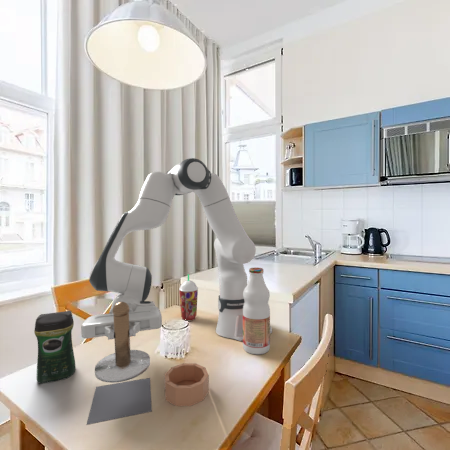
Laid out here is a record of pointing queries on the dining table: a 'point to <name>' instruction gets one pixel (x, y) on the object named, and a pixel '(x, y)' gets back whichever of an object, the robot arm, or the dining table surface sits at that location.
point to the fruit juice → (256, 314)
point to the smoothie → (188, 299)
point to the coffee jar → (54, 346)
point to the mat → (120, 400)
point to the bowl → (186, 384)
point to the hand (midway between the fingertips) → (121, 334)
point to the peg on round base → (122, 352)
